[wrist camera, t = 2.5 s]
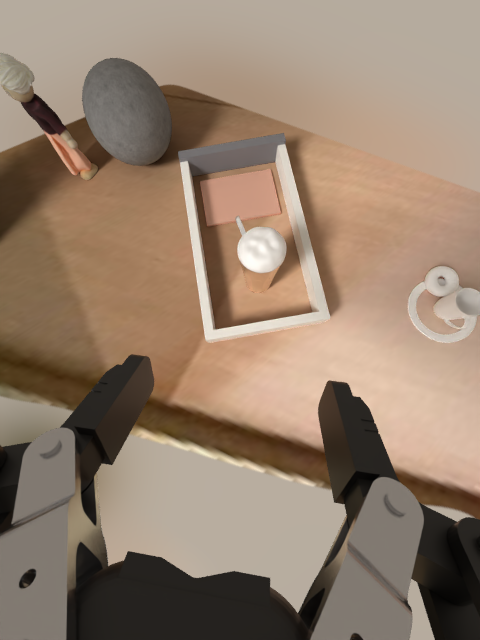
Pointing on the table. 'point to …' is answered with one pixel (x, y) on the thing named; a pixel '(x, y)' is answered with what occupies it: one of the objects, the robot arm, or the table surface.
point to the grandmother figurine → (43, 115)
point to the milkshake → (260, 255)
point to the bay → (249, 203)
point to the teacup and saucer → (447, 304)
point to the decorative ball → (127, 111)
